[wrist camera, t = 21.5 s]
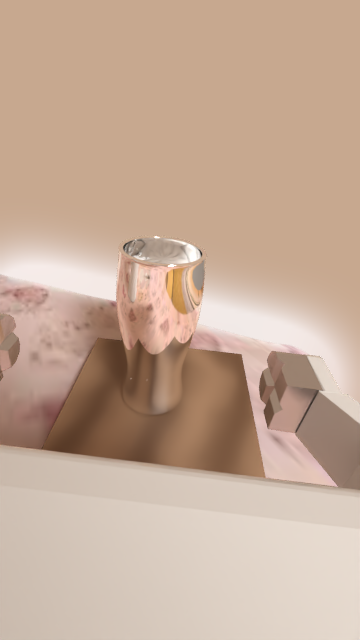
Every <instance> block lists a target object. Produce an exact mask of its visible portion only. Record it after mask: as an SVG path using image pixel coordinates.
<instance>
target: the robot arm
mask: <svg viewBox="0 0 360 640" xmlns="http://www.w3.org/2000/svg"><path fill="white" fill-rule="evenodd" d="M15 328H16V324H15V321H14V318H13V317H12V316H10V315H7V314H0V381H1V379H2V378H3V373H2V371H4V370H6V369H8V368H10V367H12V366H13V364H14V363H15V362H16V360H17V357H18V354H19V350H20V343H19V338H18V337H17V336H16V335H15V334H14V333H13V330H14V329H15ZM267 363H268V368H267V369H265V370H264V371H263V372H262V375H261V378H260V385H259V392H260V398H261V400H262V401H263V402H264V403H265V404H266V406H265V409H264V415H265V419H266V423H267V427H268V429H271V430H278V431H284V432H291V433H296V434H295V435H296V436H297V437H298V438H299V440H300V441H301V442H302V443H303V444H304V446H305V447H306V448H307V449H308V451H309V452H310V453H311V454H312V455H313V457H314V458H315V459H316V460H317V461H318V463H319V464H320V465H321V466H322V467H323V469H324V470H325V471H326V472H327V474H328V475H329V476H330V477H331V478H332V480H333V481H334V482H335V483H336V484H337V486H338V487H334V486H327V485H319V484H311V483H303V482H295V481H287V480H279V479H271V478H263V477H255V476H247V475H239V474H231V473H223V472H215V471H207V470H199V469H191V468H183V467H175V466H167V465H159V464H151V463H143V462H135V461H128V460H120V459H112V458H104V457H96V456H88V455H80V454H72V453H64V452H56V451H48V450H40V449H32V448H24V447H16V446H8V445H0V640H360V403H358V402H357V401H356V400H354V399H353V398H352V397H350V396H349V395H348V394H342V392H341V391H340V389H339V387H338V385H337V383H336V382H335V380H334V378H333V376H332V374H331V373H330V371H329V369H328V367H327V365H326V364H325V362H324V360H323V359H322V358H321V357H320V356H313V355H300V354H292V353H284V352H276V351H272V352H271V353H270V354H269V356H268V359H267Z"/></svg>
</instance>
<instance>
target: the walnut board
mask: <svg viewBox="0 0 360 640" xmlns="http://www.w3.org/2000/svg"><path fill="white" fill-rule="evenodd" d="M126 369H127V363H126V356H125V351H124V346H123V342H122V341H120V340H111V339H103V338H98V339H97V341H96V343H95V345H94V347H93V349H92V351H91V353H90V355H89V357H88V359H87V361H86V363H85V364H84V366H83V368H82V370H81V372H80V374H79V376H78V378H77V380H76V382H75V384H74V386H73V388H72V390H71V392H70V394H69V396H68V398H67V400H66V402H65V404H64V406H63V408H62V410H61V412H60V414H59V416H58V418H57V420H56V422H55V424H54V426H53V427H52V429H51V431H50V433H49V435H48V437H47V439H46V441H45V443H44V445H43V447H42V449H41V450H48V451H56V452H64V453H72V454H80V455H88V456H96V457H104V458H112V459H120V460H128V461H135V462H143V463H151V464H159V465H167V466H175V467H183V468H191V469H199V470H207V471H215V472H223V473H231V474H239V475H247V476H255V477H263V478H265V473H264V468H263V462H262V457H261V452H260V447H259V442H258V437H257V432H256V427H255V422H254V416H253V411H252V406H251V401H250V396H249V391H248V386H247V381H246V376H245V371H244V365H243V360H242V355H241V354H234V353H226V352H217V351H208V350H199V349H190V348H189V349H188V351H187V354H186V357H185V360H184V363H183V367H182V385H183V396H182V399H181V401H180V403H179V405H178V406H177V407H176V408H175V409H173V410H172V411H170V412H168V413H165V414H161V415H145V414H141V413H138V412H136V411H134V410H133V409H131V408H130V407H129V406H128V405H127V404H126V402H125V401H124V398H123V395H122V388H123V383H124V379H125V375H126Z"/></svg>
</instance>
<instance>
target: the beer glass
mask: <svg viewBox="0 0 360 640" xmlns="http://www.w3.org/2000/svg"><path fill="white" fill-rule="evenodd" d="M205 260H206V252H205V250H204V249H203V248H201V247H200V246H199V245H197V244H194V243H192V242H190V241H186V240H183V239H179V238H173V237H165V236H139V237H134V238H130V239H127V240H125V241H123V242H122V243H121V244H120V245H119V259H118V270H117V289H116V301H117V315H118V322H119V328H120V333H121V337H122V342H123V346H124V351H125V356H126V363H127V369H126V375H125V379H124V383H123V388H122V395H123V398H124V401H125V402H126V404H127V405H128V406H129V407H130V408H131V409H133V410H134V411H136V412H138V413H141V414H145V415H161V414H165V413H168V412H170V411H172V410H173V409H175V408H176V407H177V406H178V405H179V403H180V401H181V399H182V396H183V385H182V367H183V363H184V360H185V357H186V354H187V351H188V349H189V346H190V344H191V341H192V338H193V335H194V333H195V329H196V326H197V323H198V319H199V315H200V309H201V305H202V304H201V303H202V297H203V288H204V274H205Z"/></svg>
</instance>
